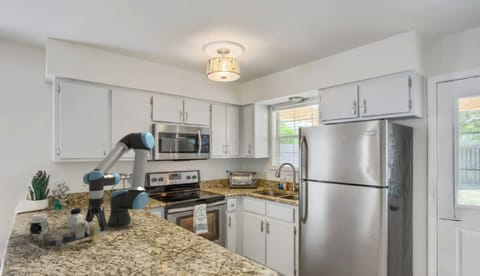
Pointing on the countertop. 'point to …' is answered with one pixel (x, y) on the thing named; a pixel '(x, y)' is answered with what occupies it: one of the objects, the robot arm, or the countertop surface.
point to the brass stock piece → (94, 233)
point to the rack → (63, 239)
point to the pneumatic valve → (38, 228)
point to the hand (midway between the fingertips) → (95, 235)
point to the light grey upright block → (78, 229)
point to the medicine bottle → (74, 217)
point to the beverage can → (40, 216)
